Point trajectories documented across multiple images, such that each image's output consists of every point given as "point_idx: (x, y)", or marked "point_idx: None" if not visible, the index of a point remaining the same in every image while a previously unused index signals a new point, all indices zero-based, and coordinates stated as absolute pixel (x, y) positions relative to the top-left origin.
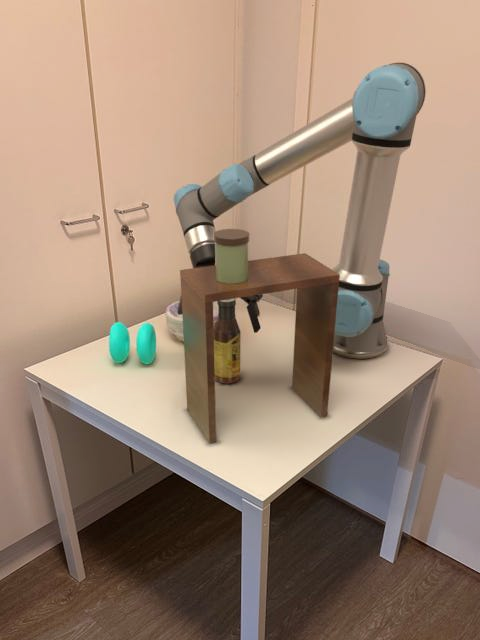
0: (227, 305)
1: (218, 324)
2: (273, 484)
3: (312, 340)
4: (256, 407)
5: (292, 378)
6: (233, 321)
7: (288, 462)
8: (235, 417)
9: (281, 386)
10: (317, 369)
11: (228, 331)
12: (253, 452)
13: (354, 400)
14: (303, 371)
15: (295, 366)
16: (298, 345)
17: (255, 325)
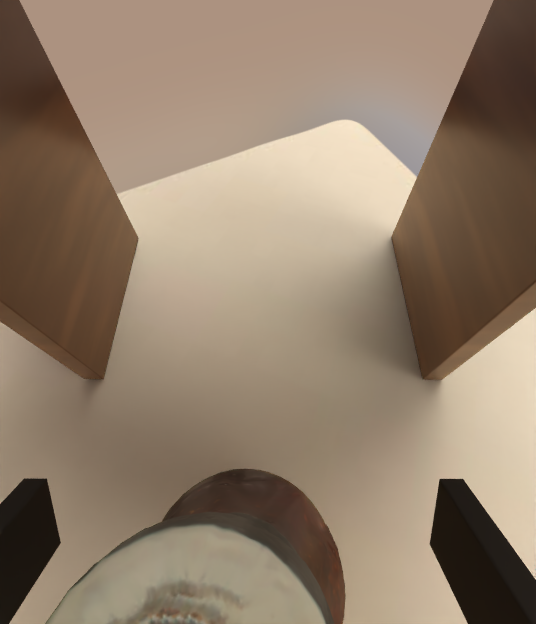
0: (241, 520)
1: (324, 565)
2: (326, 128)
3: (6, 112)
4: (250, 324)
5: (88, 366)
6: (201, 510)
7: (279, 156)
8: (320, 303)
9: (123, 401)
10: (77, 167)
11: (261, 488)
12: (327, 192)
13: None
14: (78, 271)
15: (66, 327)
16: (12, 260)
17: (30, 525)
